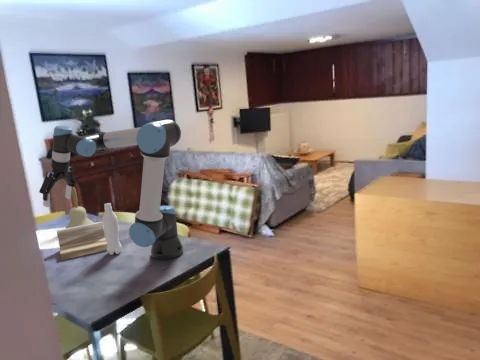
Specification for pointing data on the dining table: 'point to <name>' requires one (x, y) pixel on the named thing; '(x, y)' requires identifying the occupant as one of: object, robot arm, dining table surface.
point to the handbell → (77, 213)
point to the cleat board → (81, 240)
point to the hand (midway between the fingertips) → (57, 202)
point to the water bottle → (111, 230)
